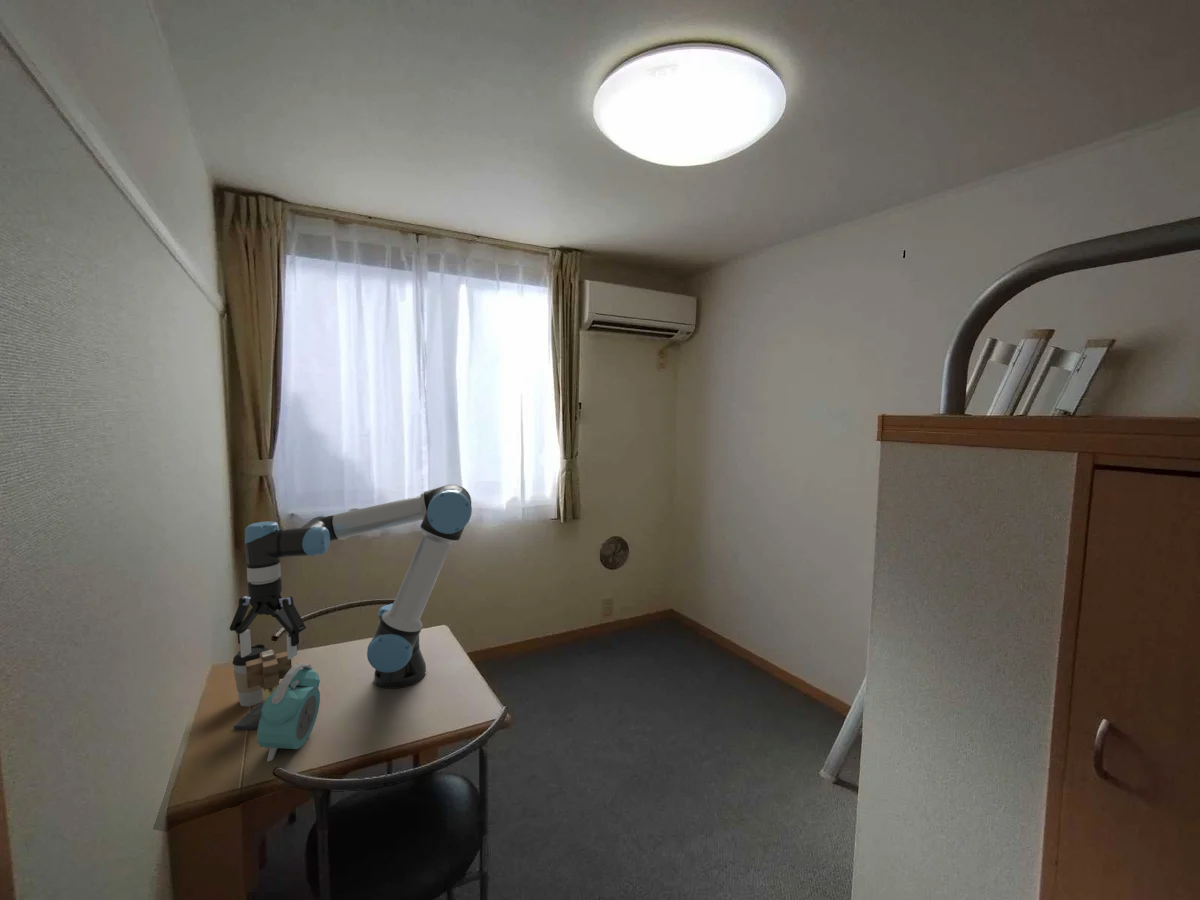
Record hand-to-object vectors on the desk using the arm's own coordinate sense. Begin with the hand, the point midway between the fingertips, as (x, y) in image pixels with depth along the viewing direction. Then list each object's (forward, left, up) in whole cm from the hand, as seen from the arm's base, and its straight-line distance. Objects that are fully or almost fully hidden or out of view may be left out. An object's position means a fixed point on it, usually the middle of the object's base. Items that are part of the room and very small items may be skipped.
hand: (269, 656), depth 135 cm
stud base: (0, 0, -17) cm, 17 cm away
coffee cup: (+11, -8, -17) cm, 22 cm away
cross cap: (0, 0, -8) cm, 8 cm away
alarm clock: (-13, +12, -17) cm, 24 cm away
